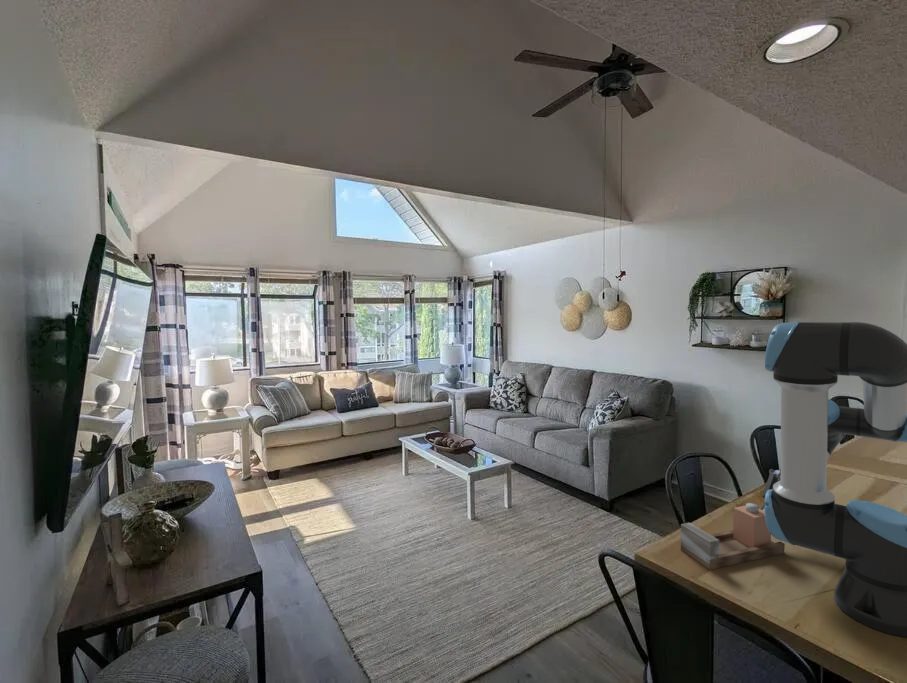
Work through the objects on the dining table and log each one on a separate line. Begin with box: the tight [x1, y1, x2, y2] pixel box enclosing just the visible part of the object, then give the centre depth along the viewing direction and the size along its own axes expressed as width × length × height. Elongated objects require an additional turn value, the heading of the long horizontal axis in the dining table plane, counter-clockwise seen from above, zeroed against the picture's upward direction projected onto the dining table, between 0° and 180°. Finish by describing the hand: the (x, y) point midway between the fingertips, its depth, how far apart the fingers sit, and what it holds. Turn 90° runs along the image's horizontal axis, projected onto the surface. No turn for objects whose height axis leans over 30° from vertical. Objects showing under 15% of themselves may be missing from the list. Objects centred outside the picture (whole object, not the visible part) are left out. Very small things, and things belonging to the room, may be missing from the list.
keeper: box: [732, 502, 772, 548], centre depth 124 cm, size 6×6×11 cm
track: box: [680, 522, 786, 570], centre depth 122 cm, size 25×10×8 cm, turn 105°
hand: (761, 523), depth 126 cm, fingers closed
